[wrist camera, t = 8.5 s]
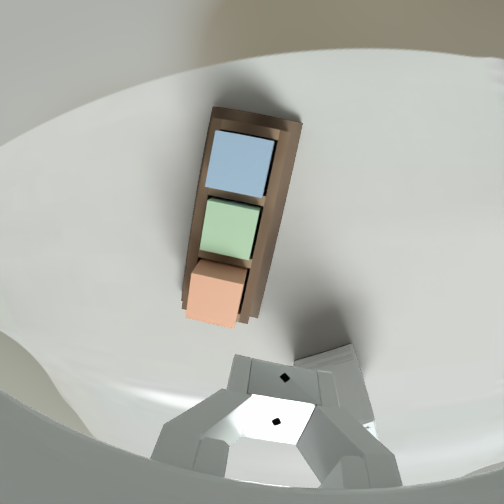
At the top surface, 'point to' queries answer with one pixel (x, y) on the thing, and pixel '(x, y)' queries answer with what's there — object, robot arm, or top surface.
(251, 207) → the sage block
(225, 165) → the blue block
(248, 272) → the divided box
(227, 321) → the terracotta block
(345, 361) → the supplement box
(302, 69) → the top surface
